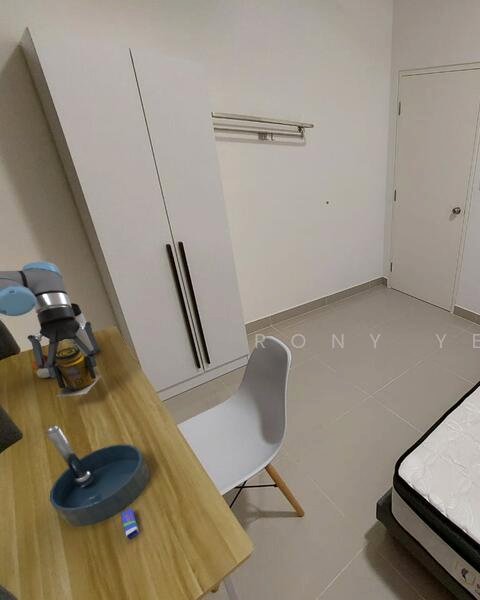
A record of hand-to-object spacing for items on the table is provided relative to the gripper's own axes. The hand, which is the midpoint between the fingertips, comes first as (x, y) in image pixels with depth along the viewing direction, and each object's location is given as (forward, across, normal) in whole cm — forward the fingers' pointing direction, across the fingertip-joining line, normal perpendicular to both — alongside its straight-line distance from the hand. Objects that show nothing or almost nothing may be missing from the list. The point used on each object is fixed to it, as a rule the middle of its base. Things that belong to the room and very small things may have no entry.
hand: (78, 382), depth 95 cm
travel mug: (-16, -1, -30) cm, 34 cm away
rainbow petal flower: (-12, +8, -26) cm, 30 cm away
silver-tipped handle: (+28, +2, +16) cm, 32 cm away
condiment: (0, +1, -5) cm, 5 cm away
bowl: (+31, -1, +18) cm, 36 cm away
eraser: (+41, -4, +27) cm, 49 cm away
